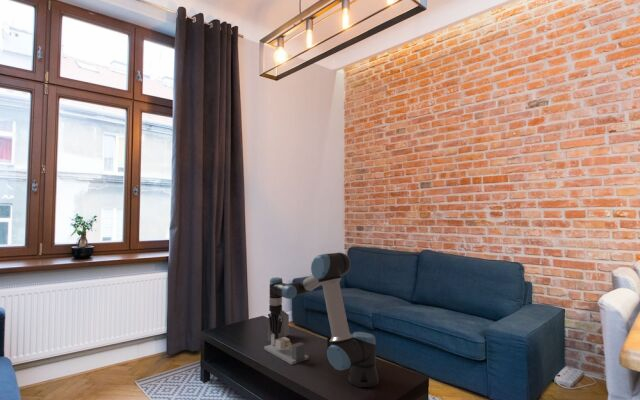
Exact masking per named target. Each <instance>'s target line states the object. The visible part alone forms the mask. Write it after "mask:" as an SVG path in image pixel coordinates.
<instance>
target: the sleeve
mask: <svg viewBox="0 0 640 400" xmlns="http://www.w3.org/2000/svg"><path fill="white" fill-rule="evenodd" d="M290 340H291V339H290V338H288V337H287V336H285V337H281V338H279V339H276V347H277V348H278V349H280V350H281V349H284V348H287V347H288V346H287V345H285V342H287V343H289V344H290V343H291V341H290Z"/></svg>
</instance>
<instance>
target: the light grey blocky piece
mask: <svg viewBox="0 0 640 400" xmlns="http://www.w3.org/2000/svg"><path fill="white" fill-rule="evenodd" d="M278 339H279V338H278ZM285 345H287V346H288V347H287V348H284V349H281V350H280V349H278V348H277V347H276V345H273V337H272V335H271V341H270V344H268V345H264V347H263V350H265V351H267V352H268V353H270V354H271V355H274V356H275V357H278V358H279V359H281V360H283V361H284V362H287V363H288V364H289V365H291V366H292V365H295V364H296V365H297V364H298V363H301V362H304V361H306V360H309V359H310V357H309V355H307V354H305V353H306V349H305V347H306V344H305V343H303V342H301V341H300V342H297V343H293V344H292V342H290V344H289V343H287V342H285Z"/></svg>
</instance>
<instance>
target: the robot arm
mask: <svg viewBox="0 0 640 400" xmlns="http://www.w3.org/2000/svg"><path fill="white" fill-rule="evenodd" d="M351 265H352V263H351V259H350V258H349V256H348V255H347V254H345V253H342V252H334V253H333V252H332V253H322V254H318V255H316V256H315V257H314V258H313V260H312V261H311V265H310V271H311V275H309V276H307V277H306V278H304V279H303V280H301V281H296V282H291V283H290V282H289V283H284V282H283V278H282V277H279V276H278V277H271V278H270V280H269V297H268V298H269V301H268V303H269V307H268V308H269V309H268V310H269V312H270V313H268V314H267V317H268V325H269V324H270V331H272V333H273V334H272V337H273V345H276V339H278V333H281V327H282V321H283V318H281V314H280V312H281V311H282V310H283V298H285V299H289V300H292V299H294V298H295V297H296V296H300V295H308V294H310V293H312V292H313V291H314V289H316V288H318V287H322V290H323V296H324V302H325V306H326V313H327V317H328V323H329V327H330V328H329V329H330V333H331V334H330V335H331V339H330V345H331V346H330V347H329V348H328V350H327V349H326V356H327V359H328V362H329V364H330V365H331V366H332V367H333V368H334V369H335V370H337V371H344V370H348V369H349V373H348V379H347V380H348V383H350V384H351V385H352V386H354V387H357V388H361V387H371V388H374V387H376V386H378V385H379V383H380V376H379V373H378V370H377V367H376V366H377V365H376V357H377V355H376V350H377V346H376V345H377V341H376V337H375V335H373V334H372V333H370V332H369V333H368V332H364V331H354V332H353V333H351V332H350V329H349V324H348V320H347V315H346V314H347V313H346V309H345V304H344V300H343V293H342V289H341V285H340V282H341V280H342V276H343V275H346V274H347V273H348V272H350V269H351ZM377 384H378V385H377ZM375 385H376V386H375ZM373 386H374V387H373Z"/></svg>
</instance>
